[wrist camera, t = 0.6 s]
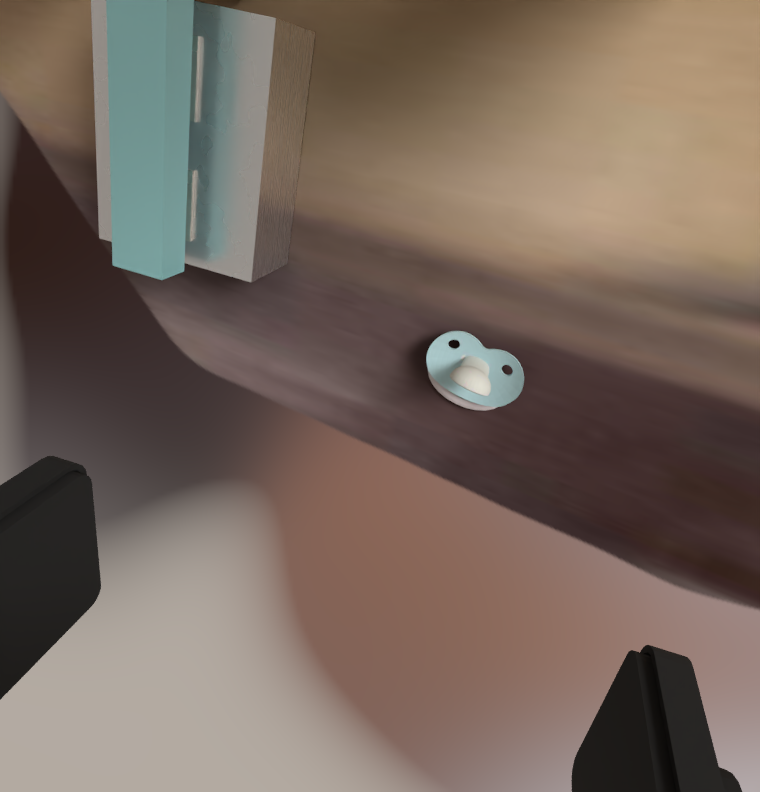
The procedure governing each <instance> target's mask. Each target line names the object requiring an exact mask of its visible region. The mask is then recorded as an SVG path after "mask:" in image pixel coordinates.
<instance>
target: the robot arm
mask: <svg viewBox="0 0 760 792" xmlns="http://www.w3.org/2000/svg"><path fill="white" fill-rule="evenodd" d="M94 514H95V513H94V502H93V491H92V482H91V479H90V477H89V476H87V474H86V470H85V468H84V467H83V466H82V465H79V464H77V463H73V462H70V461H67V460H64V459H60V458H58V457H54V456H47V457H45V458H43V459H41V460H39V461H38V462H36V463H35V464H33V465H32V466H30V467H28V468H27V469H25V470H24V471H23V472H21V473H19V474H18V475H16V476H14V477H13V478H11V479H10V480H8V481H7V482H5V483H3V484H2V485H0V699H1V698H2V697H3V696H4V695H5V694H6V693H7V692H8V691H9V690H10V689H11V688H12V687H13V686H14V685H15V684H16V683H17V682H18V681H19V680H20V679H21V678H22V677H23V676H24V675H25V674H26V673H27V672H28V671H29V670H30V669H31V668H32V667H33V666H34V665H35V663H36V662H37V661H38V660H39V659H40V658H41V657H42V656H43V655H44V654H45V653H46V652H47V651H48V650H49V649H50V648H51V647H52V646H53V645H54V644H55V643H56V642H57V641H58V640H59V639H60V638H61V637H62V636H63V635H64V634H65V633H66V632H67V631H68V630H69V629H70V628H71V627H72V626H73V625H74V624H75V622H77V620H78V619H79V618H80V617H81V616H82V615H83V614H84V613H85V612H86V611H87V610H88V609H89V608H90V607H91V606H92V605H93V604H94V602H95V601H96V599H97V597H98V595H99V592H100V589H101V581H100V570H99V558H98V547H97V536H96V524H95V515H94ZM572 792H742V790H741V788H740V785H739V782H738V781H737V779H736V778H735V777H734V776H733V774H732V773H731V772H729V771H727V770H725V769H722V768H719V767H718V763H717V759H716V755H715V751H714V747H713V743H712V739H711V735H710V731H709V728H708V724H707V720H706V716H705V712H704V708H703V704H702V700H701V696H700V692H699V688H698V685H697V681H696V677H695V673H694V669H693V666H692V663H691V661H690V660H689V659H688V658H687V657H685V656H682V655H679V654H675V653H672V652H669V651H666V650H663V649H660V648H656V647H653V646H650V645H646V646H645V647H643V649H642V650H641V652H640V653H639V652H636V651H633V650H631V651H629V652H628V654H627V656H626V658H625V660H624V662H623V664H622V666H621V667H620V669H619V671H618V673H617V675H616V677H615V679H614V681H613V683H612V685H611V687H610V689H609V691H608V693H607V695H606V697H605V699H604V701H603V703H602V705H601V707H600V709H599V711H598V713H597V715H596V717H595V719H594V721H593V723H592V725H591V727H590V729H589V731H588V733H587V735H586V737H585V739H584V741H583V743H582V745H581V747H580V748H579V750H578V752H577V755H576V757H575V760H574V765H573V770H572Z"/></svg>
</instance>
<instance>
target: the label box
mask: <svg viewBox="0 0 760 792" xmlns="http://www.w3.org/2000/svg"><path fill="white" fill-rule="evenodd" d="M91 16H92V45H93V74H94V103H95V132H96V161H97V190H98V219H99V238H100V239H104V240H107V241H110V242H112V221H111V180H110V138H109V96H108V55H107V13H106V0H91ZM314 41H315V32H313V31H310V30H307V29H304V28H302V27H299V26H296V25H294V24H291V23H288V22H285V21H283V20H280V19H277V18H274V17H269V16H264V15H259V14H255V13H250V12H245V11H240V10H236V9H231V8H226V7H222V6H217V5H212V4H207V3H203V2H198V1H194V13H193V41H192V68H191V96H190V124H189V152H188V179H187V207H186V235H185V263H186V264H189V265H193V266H196V267H200V268H203V269H206V270H210V271H213V272H217V273H220V274H224V275H227V276H230V277H234V278H237V279H241V280H244V281H248V282H253V281H255V280H257V279H259V278H261V277H263V276H265V275H267V274H269V273H271V272H273V271H275V270H277V269H278V268H280V267H282V266H284V265H286V264H287V262H288V254H289V246H290V238H291V230H292V221H293V213H294V205H295V197H296V188H297V180H298V172H299V164H300V156H301V147H302V139H303V131H304V123H305V115H306V106H307V98H308V90H309V82H310V74H311V65H312V57H313V49H314Z"/></svg>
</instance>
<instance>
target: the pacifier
mask: <svg viewBox="0 0 760 792" xmlns="http://www.w3.org/2000/svg"><path fill="white" fill-rule="evenodd" d="M451 340H458V341H459V343H460V346H459V347H458V348H451V347H450V346H449V344H448V343H449V341H451ZM426 362H427V367H428V375H429V378H430V380H431V382H432V384H433V386H434V387H435V388H436V389H437V391H438V392H439V393H440V394H442V395H443V396H444V397H445V398H446V399H448V400H450V401H451V402H453V403H455V404H457V405H459V406H462V407H464V408H468V409H473V410H490V409H495V408H497V407H500V406H504V405H506V404H508V403H511V402H512V401H513V400H515V399H516V398H517V397H518V396H519V394H520V393H521V391H522V388H523V384H524V373H523V369H522V367H521V365H520V363H519V362H518V360H517V359H516V358H515V357H514V356H513V355H511V354H510V353H508V352H506V351H503V350H500V349H487V348H485V347H483V346H482V344H481V342H480V341H479V340H478V339H477V338H476V337H474V336H473V335H471V334H469V333H467V332H463V331H450V332H447V333H444V334H442V335H440V336H439V337H438V338H436V339H435V340H434V341H433V343H432V344H431V345H430V347H429V349H428V352H427V356H426ZM504 365H509V366H511V368H512V369H513V373H512V374H510V375H507V374H505V373H504V372H503V371H502V366H504Z"/></svg>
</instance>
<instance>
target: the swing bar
mask: <svg viewBox="0 0 760 792" xmlns="http://www.w3.org/2000/svg"><path fill="white" fill-rule="evenodd" d="M106 13H107V55H108V96H109V138H110V180H111V221H112V262H113V266H116V267H119V268H123V269H126V270H129V271H133V272H136V273H139V274H143V275H146V276H150V277H153V278H156V279H160V280H164V279H166V278H169V277H171V276H174V275H176V274H179V273H181V272H184V263H185V235H186V207H187V179H188V152H189V124H190V96H191V68H192V41H193V13H194V0H106Z"/></svg>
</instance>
